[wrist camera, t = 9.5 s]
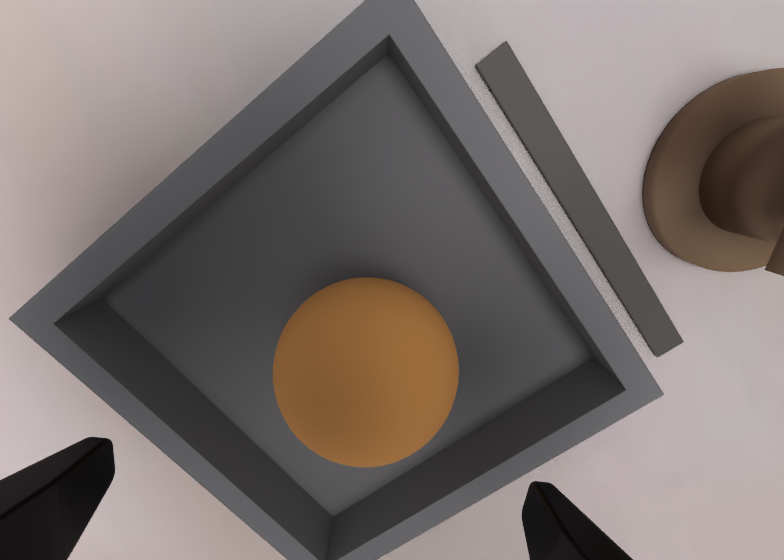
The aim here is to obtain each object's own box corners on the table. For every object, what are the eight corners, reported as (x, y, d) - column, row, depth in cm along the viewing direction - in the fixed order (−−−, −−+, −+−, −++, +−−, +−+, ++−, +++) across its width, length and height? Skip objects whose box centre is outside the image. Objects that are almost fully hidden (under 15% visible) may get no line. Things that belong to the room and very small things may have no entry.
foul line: (654, 355, 18) (657, 357, 17) (475, 66, 14) (476, 64, 14) (680, 339, 17) (683, 342, 17) (505, 42, 14) (506, 40, 14)
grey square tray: (332, 528, 20) (323, 590, 18) (75, 288, 16) (8, 318, 13) (618, 353, 17) (664, 394, 15) (394, 9, 13) (396, -28, 11)
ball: (353, 509, 14) (399, 524, 9) (238, 387, 15) (219, 335, 10) (452, 386, 17) (529, 343, 12) (350, 288, 18) (382, 209, 13)
